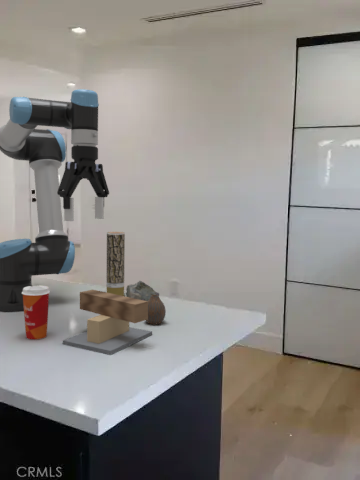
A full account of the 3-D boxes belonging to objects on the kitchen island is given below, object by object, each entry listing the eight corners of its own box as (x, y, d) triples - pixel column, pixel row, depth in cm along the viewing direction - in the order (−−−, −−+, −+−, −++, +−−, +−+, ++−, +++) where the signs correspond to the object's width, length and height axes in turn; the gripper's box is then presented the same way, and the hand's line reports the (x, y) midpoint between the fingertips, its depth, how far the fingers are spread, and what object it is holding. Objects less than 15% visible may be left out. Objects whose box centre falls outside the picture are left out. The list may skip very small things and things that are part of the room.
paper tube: (120, 299, 185) (121, 233, 182) (103, 297, 186) (104, 232, 184) (126, 295, 192) (126, 232, 189) (109, 294, 193) (110, 231, 190)
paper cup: (20, 334, 139) (20, 285, 138) (48, 331, 142) (47, 284, 141) (23, 342, 132) (22, 291, 131) (52, 339, 135) (52, 289, 134)
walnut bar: (79, 309, 141) (79, 292, 140) (92, 306, 145) (92, 289, 144) (135, 323, 128) (135, 304, 127) (147, 319, 131) (148, 301, 131)
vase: (138, 322, 153) (139, 295, 153) (154, 318, 159) (155, 292, 158) (154, 327, 149) (154, 299, 148) (169, 323, 154) (170, 295, 153)
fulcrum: (62, 343, 131) (62, 318, 131) (107, 326, 149) (107, 303, 148) (110, 354, 124) (110, 327, 123) (152, 334, 141) (152, 311, 140)
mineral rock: (158, 304, 178) (158, 277, 177) (163, 311, 168) (163, 283, 167) (122, 305, 176) (123, 277, 175) (125, 313, 165) (125, 283, 164)
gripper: (65, 141, 127) (65, 222, 129) (120, 149, 149) (120, 218, 151) (43, 142, 131) (44, 221, 133) (101, 149, 152) (101, 217, 155)
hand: (84, 219), depth 142 cm, fingers open, 13 cm apart
